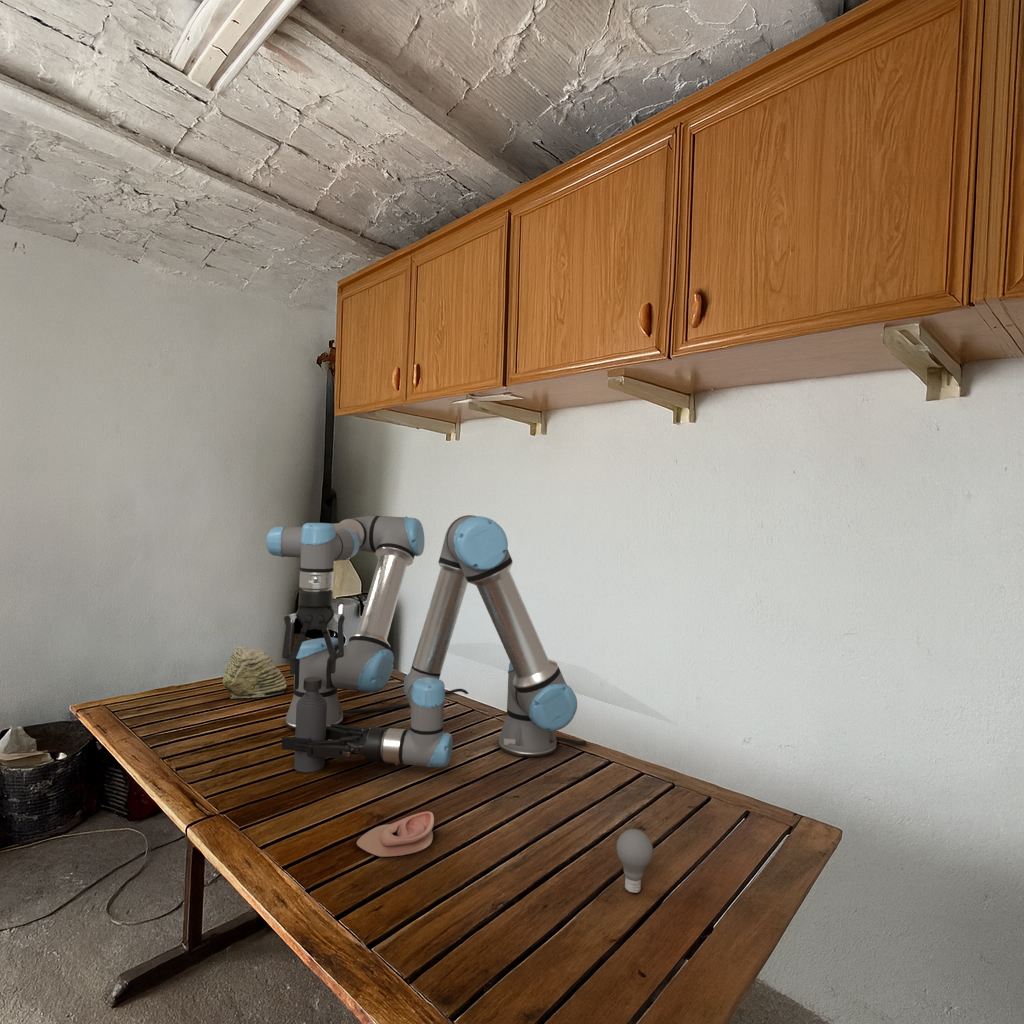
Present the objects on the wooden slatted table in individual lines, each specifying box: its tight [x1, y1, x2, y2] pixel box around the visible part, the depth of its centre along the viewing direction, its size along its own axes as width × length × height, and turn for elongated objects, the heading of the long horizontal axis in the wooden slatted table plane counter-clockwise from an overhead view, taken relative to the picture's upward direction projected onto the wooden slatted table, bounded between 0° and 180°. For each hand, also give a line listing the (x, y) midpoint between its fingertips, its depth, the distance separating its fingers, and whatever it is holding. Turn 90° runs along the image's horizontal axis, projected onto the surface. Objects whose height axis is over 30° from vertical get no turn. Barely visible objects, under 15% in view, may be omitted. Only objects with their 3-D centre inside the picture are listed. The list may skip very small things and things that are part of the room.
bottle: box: [293, 690, 327, 773], centre depth 148 cm, size 7×7×20 cm
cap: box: [303, 677, 322, 691], centre depth 148 cm, size 4×4×2 cm
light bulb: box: [615, 828, 654, 894], centre depth 106 cm, size 6×6×10 cm
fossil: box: [222, 646, 288, 699], centre depth 198 cm, size 9×18×15 cm, turn 132°
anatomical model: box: [356, 811, 435, 858], centre depth 118 cm, size 13×4×12 cm
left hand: (312, 687), depth 148 cm, fingers open, 6 cm apart
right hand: (290, 737), depth 149 cm, fingers closed on bottle, 7 cm apart
